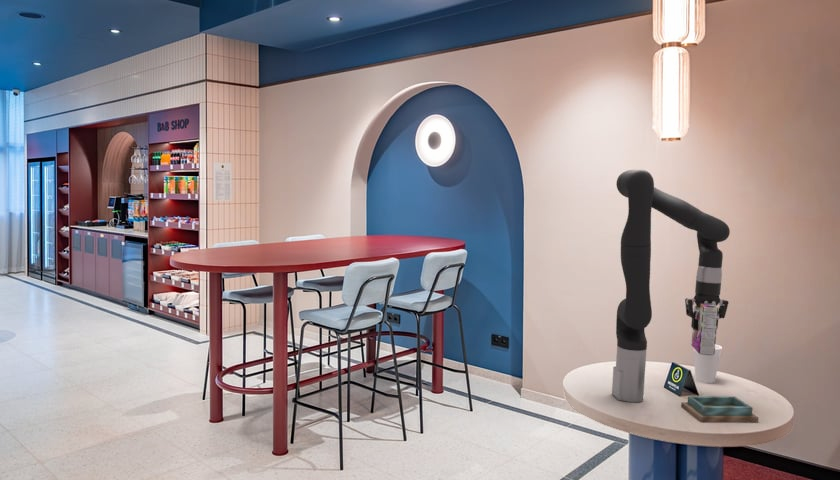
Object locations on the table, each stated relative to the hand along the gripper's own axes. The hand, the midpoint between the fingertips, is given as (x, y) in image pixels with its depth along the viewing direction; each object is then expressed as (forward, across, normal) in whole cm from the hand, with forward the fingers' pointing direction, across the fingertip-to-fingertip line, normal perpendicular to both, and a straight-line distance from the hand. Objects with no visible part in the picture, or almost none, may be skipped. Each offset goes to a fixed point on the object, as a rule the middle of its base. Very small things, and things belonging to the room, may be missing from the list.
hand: (704, 329), depth 200 cm
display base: (+23, -2, -16) cm, 28 cm away
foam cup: (+23, +11, +16) cm, 30 cm away
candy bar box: (+7, 0, 0) cm, 7 cm away
